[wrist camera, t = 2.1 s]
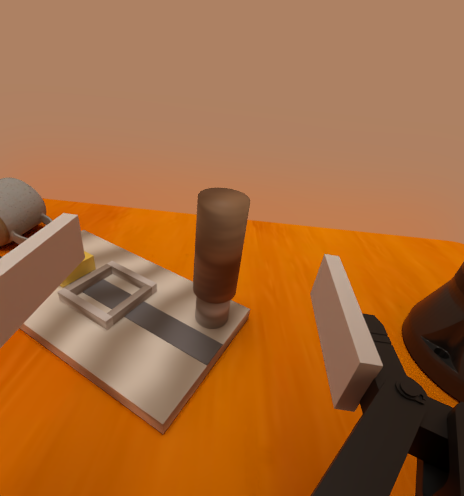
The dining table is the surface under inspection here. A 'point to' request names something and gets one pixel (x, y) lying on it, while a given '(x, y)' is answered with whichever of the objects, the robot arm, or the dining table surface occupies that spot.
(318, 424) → the dining table surface
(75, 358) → the subfloor panel
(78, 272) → the block
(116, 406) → the dining table surface
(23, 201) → the ceramic mug
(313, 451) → the dining table surface
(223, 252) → the brown tall rounded piece
